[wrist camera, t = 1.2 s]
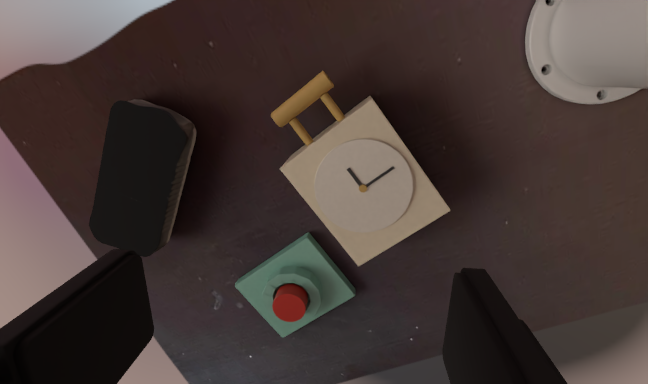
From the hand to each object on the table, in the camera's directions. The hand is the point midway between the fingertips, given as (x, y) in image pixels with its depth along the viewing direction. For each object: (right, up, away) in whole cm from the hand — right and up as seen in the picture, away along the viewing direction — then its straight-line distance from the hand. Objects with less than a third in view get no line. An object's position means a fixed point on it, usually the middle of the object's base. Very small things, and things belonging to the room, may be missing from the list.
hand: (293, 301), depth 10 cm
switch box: (-2, -8, +31) cm, 32 cm away
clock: (+4, +7, +25) cm, 26 cm away
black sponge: (-18, +5, +28) cm, 34 cm away
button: (-3, -9, +28) cm, 30 cm away
